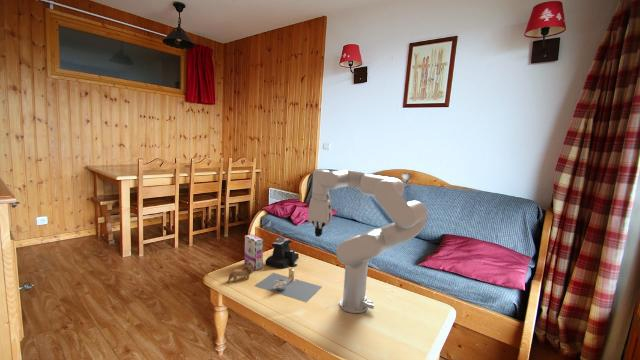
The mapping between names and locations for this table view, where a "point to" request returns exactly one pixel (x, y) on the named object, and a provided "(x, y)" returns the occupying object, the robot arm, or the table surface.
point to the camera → (282, 254)
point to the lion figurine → (242, 271)
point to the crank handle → (284, 281)
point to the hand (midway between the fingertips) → (318, 235)
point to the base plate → (290, 287)
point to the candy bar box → (254, 251)
